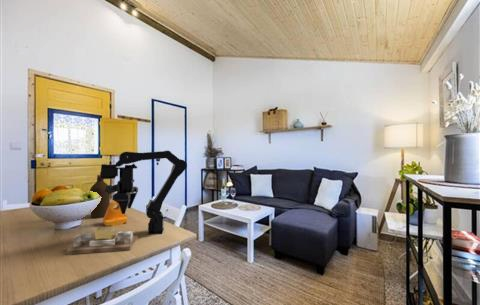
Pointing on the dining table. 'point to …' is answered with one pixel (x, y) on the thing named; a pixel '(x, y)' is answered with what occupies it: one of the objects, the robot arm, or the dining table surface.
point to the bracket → (114, 215)
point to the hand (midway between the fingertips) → (126, 210)
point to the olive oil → (105, 199)
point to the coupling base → (102, 243)
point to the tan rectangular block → (105, 233)
